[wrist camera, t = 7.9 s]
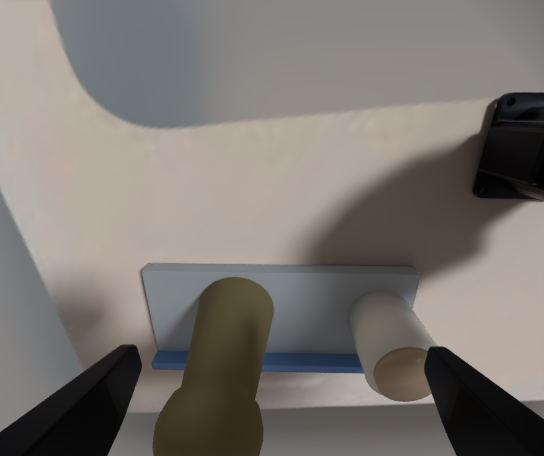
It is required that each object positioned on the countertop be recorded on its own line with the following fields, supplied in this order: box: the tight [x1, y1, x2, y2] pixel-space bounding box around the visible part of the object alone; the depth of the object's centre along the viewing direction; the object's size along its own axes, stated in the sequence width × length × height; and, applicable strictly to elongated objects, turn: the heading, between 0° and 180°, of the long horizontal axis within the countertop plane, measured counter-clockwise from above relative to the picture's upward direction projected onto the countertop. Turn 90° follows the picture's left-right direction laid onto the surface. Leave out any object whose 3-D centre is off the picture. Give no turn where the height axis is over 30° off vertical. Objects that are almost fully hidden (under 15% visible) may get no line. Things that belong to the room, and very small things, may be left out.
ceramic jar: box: [347, 291, 437, 402], centre depth 19 cm, size 5×5×6 cm
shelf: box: [142, 263, 420, 373], centre depth 22 cm, size 21×9×2 cm, turn 90°
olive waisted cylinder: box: [153, 277, 274, 456], centre depth 17 cm, size 6×6×11 cm
